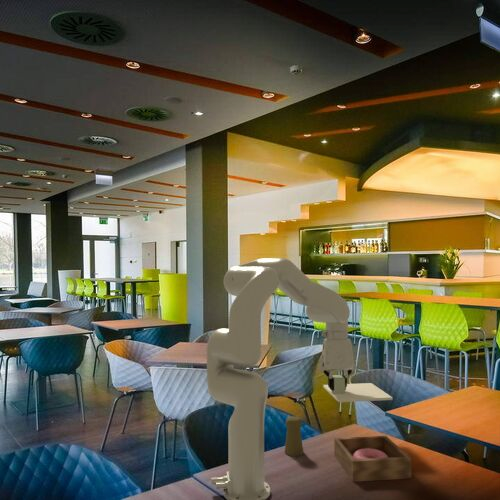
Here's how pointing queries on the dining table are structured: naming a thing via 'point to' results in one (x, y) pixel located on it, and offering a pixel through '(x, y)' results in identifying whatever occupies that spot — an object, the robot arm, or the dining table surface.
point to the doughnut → (369, 454)
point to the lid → (356, 391)
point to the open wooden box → (372, 468)
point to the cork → (293, 437)
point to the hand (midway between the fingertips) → (337, 388)
